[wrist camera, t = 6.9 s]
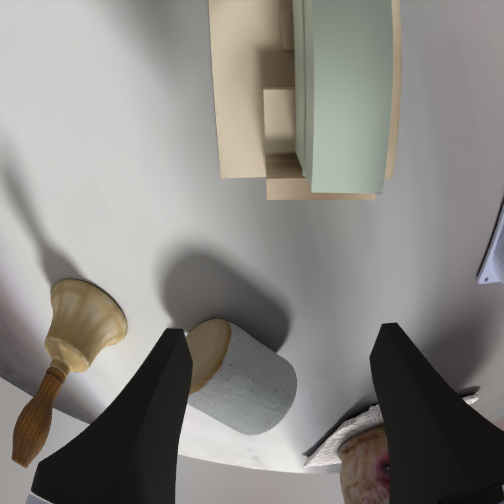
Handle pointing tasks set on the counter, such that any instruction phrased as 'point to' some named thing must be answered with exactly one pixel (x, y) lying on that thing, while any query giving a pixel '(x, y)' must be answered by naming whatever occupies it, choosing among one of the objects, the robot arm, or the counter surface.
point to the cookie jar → (361, 457)
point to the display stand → (270, 96)
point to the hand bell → (67, 355)
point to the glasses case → (343, 93)
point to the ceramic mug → (238, 378)
